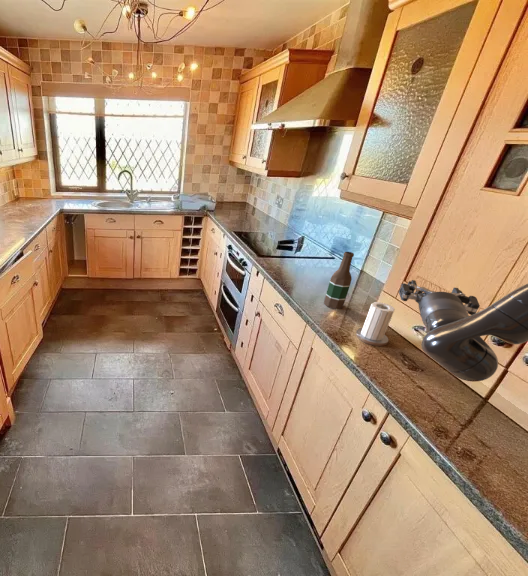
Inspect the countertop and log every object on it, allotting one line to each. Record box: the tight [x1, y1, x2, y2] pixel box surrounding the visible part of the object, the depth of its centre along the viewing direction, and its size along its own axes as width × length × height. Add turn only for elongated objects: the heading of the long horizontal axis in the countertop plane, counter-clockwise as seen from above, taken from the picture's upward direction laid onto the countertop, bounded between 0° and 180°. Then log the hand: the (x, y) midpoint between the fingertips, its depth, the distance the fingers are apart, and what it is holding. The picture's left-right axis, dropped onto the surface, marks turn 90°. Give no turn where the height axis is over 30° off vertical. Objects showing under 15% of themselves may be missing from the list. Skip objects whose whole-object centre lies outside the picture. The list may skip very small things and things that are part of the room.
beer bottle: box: [323, 251, 355, 310], centre depth 127 cm, size 8×8×24 cm
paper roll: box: [361, 301, 395, 341], centre depth 108 cm, size 6×6×12 cm
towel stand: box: [355, 308, 389, 347], centre depth 109 cm, size 10×10×12 cm
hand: (432, 287), depth 81 cm, fingers open, 8 cm apart
